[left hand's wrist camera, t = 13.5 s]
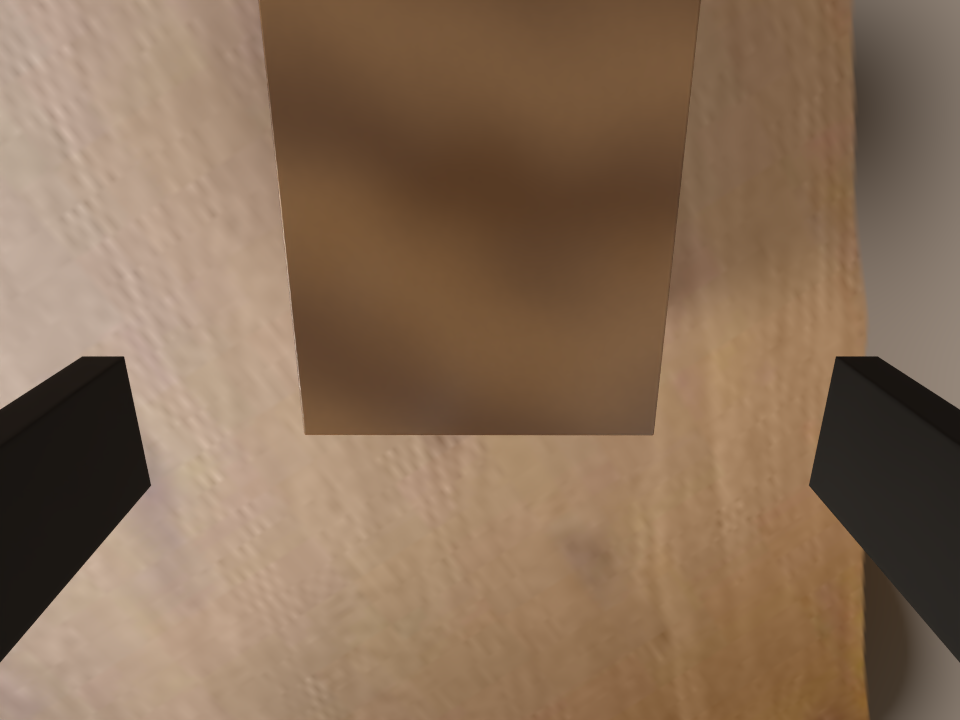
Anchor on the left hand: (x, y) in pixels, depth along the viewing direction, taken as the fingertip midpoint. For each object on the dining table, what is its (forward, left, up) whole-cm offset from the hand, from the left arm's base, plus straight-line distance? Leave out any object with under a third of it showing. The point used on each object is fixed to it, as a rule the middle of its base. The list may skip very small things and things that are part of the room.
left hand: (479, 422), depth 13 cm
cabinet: (+4, 0, -18) cm, 18 cm away
